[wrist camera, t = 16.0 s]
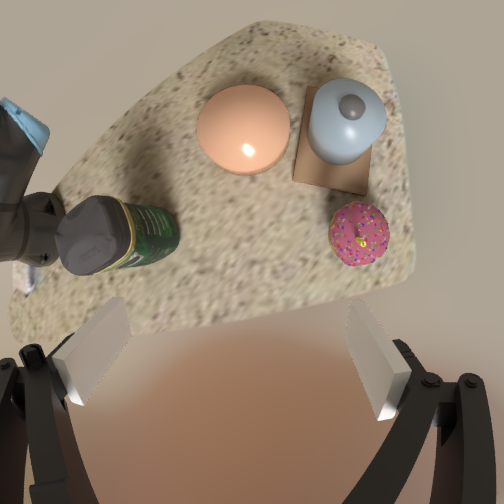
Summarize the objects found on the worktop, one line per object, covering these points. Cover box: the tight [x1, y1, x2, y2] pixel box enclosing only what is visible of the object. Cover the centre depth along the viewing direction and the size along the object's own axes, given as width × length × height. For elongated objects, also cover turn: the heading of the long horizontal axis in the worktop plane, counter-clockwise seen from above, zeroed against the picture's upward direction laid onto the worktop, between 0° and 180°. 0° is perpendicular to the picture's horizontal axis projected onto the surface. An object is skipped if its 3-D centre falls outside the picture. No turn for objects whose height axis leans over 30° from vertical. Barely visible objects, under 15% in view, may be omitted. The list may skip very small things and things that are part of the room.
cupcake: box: [328, 201, 390, 267], centre depth 34 cm, size 9×8×12 cm
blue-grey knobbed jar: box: [307, 79, 387, 165], centre depth 33 cm, size 9×9×11 cm
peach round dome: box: [197, 85, 290, 176], centre depth 39 cm, size 13×13×5 cm
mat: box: [293, 86, 372, 196], centre depth 40 cm, size 11×16×1 cm
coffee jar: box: [55, 195, 179, 276], centre depth 35 cm, size 10×8×19 cm
